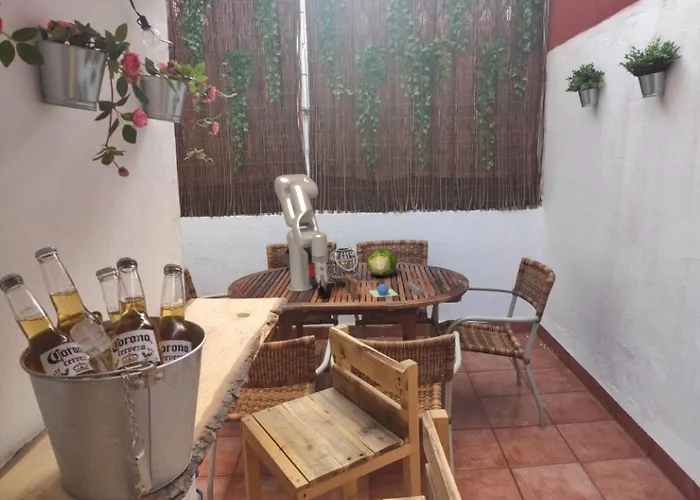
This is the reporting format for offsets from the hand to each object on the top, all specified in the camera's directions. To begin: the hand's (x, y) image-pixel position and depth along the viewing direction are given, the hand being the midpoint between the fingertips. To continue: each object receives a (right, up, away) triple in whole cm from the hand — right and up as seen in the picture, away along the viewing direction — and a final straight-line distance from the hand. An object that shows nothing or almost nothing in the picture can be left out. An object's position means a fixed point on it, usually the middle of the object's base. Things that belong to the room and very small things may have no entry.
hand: (321, 295), depth 257 cm
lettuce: (+32, +7, +39) cm, 51 cm away
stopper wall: (+46, +2, +9) cm, 47 cm away
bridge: (+15, 0, +3) cm, 15 cm away
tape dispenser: (-7, +7, +49) cm, 50 cm away
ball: (+30, +3, +2) cm, 30 cm away
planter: (-16, +10, +64) cm, 67 cm away
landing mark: (+30, +1, +6) cm, 31 cm away
